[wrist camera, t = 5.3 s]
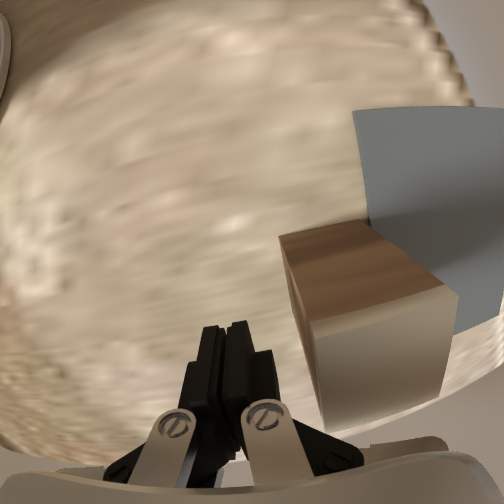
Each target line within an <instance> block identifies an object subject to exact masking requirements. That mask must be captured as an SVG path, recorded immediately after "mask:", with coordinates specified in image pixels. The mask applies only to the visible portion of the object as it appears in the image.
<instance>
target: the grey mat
mask: <svg viewBox="0 0 504 504" xmlns="http://www.w3.org/2000/svg"><path fill="white" fill-rule="evenodd" d="M352 113H353V118H354V123H355V128H356V133H357V139H358V144H359V150H360V156H361V163H362V169H363V176H364V183H365V191H366V199H367V208H368V217H369V227H371V228H372V229H374V230H375V231H376V232H378V233H379V234H380V235H382V236H383V237H385V238H386V239H387V240H389V241H390V242H391V243H393V244H394V245H395V246H397V247H398V248H399V249H401V250H402V251H403V252H405V253H406V254H407V255H409V256H410V257H411V258H413V259H414V260H415V261H416V262H418V263H419V264H420V265H422V266H423V267H424V268H425V269H427V270H428V271H429V272H430V273H432V274H433V275H434V276H435V277H437V278H438V279H439V280H440V281H442V282H443V283H444V284H445V285H446V286H448V287H449V288H450V289H451V290H452V291H454V292H455V293H456V294H457V295H458V296H459V297H458V305H457V312H456V319H455V325H454V331H453V335H456V334H458V333H460V332H463V331H465V330H467V329H470V328H472V327H474V326H476V325H479V324H481V323H483V322H485V321H487V320H489V319H492V318H494V317H496V316H498V315H499V311H500V306H501V301H502V296H503V291H504V109H500V108H485V107H456V106H433V107H402V108H385V109H372V110H361V111H353V112H352Z"/></svg>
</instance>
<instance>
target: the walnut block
mask: <svg viewBox="0 0 504 504" xmlns="http://www.w3.org/2000/svg"><path fill="white" fill-rule="evenodd" d="M278 237H279V242H280V247H281V252H282V257H283V262H284V268H285V273H286V278H287V284H288V289H289V295H290V300H291V306H292V310H293V314H294V318H295V321H296V325H297V328H298V332H299V336H300V339H301V343H302V346H303V350H304V354H305V357H306V361H307V365H308V369H309V372H310V376H311V380H312V384H313V387H314V391H315V395H316V399H317V402H318V406H319V410H320V414H321V418H322V422H323V426H324V430H325V434H329V433H333V432H337V431H341V430H345V429H348V428H352V427H355V426H359V425H362V424H366V423H369V422H372V421H375V420H378V419H381V418H385V417H387V416H390V415H393V414H396V413H399V412H402V411H404V410H407V409H410V408H412V407H415V406H418V405H420V404H423V403H425V402H427V401H430V400H432V399H435V398H437V397H439V393H440V390H441V386H442V382H443V378H444V374H445V370H446V366H447V361H448V357H449V352H450V347H451V342H452V337H453V331H454V325H455V319H456V312H457V305H458V297H459V296H458V295H457V294H456V293H455V292H454V291H452V290H451V289H450V288H449V287H448V286H446V285H445V284H444V283H443V282H442V281H440V280H439V279H438V278H437V277H435V276H434V275H433V274H432V273H430V272H429V271H428V270H427V269H425V268H424V267H423V266H422V265H420V264H419V263H418V262H416V261H415V260H414V259H413V258H411V257H410V256H409V255H407V254H406V253H405V252H403V251H402V250H401V249H399V248H398V247H397V246H395V245H394V244H393V243H391V242H390V241H389V240H387V239H386V238H385V237H383V236H382V235H380V234H379V233H378V232H376V231H375V230H374V229H372V228H371V227H369V226H368V225H366V224H365V223H364V222H362V221H361V220H354V221H349V222H344V223H339V224H334V225H329V226H325V227H320V228H315V229H310V230H305V231H301V232H296V233H291V234H286V235H282V236H278Z"/></svg>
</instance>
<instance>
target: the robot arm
mask: <svg viewBox="0 0 504 504" xmlns="http://www.w3.org/2000/svg"><path fill="white" fill-rule="evenodd" d="M10 53H11V33H10V28H9V24H8V21H7V19H6V18H5V17H4V15H3V14H2V13H0V99H1V96H2V93H3V90H4V86H5V82H6V78H7V74H8V67H9V62H10ZM241 447H242V450H243V452H244V454H245V456H246V458H247V460H248V461H249V462H250V467H251V471H252V476H253V481H254V485H255V486H245V487H229V488H220V486H221V483H222V478H223V474H224V468H223V466H224V465H225V464H226V463H228V462H229V460H235V456H236V452H238V451H240V449H241ZM0 504H504V497H503V495H502V493H501V491H500V490H499V488H498V486H497V485H496V483H495V481H494V480H493V478H492V477H491V475H490V474H489V473H488V471H487V470H486V469H485V468H484V466H483V465H482V464H481V463H480V462H479V461H478V460H477V459H475V458H474V457H472V456H471V455H469V454H466V453H462V452H454V451H449V450H448V446H447V444H446V443H445V441H443V440H442V439H441V438H438V437H435V436H427V437H421V438H415V439H410V440H404V441H397V442H390V443H382V444H373V445H370V448H360V449H358V448H357V447H355V446H353V445H351V444H349V443H346V442H344V441H341V440H339V439H337V438H334V437H332V436H330V435H327V434H325V433H323V432H320V431H318V430H316V429H314V428H312V427H309V426H307V425H305V424H303V423H301V422H299V421H297V420H295V419H292V418H291V415H290V412H289V410H288V408H287V406H286V405H285V404H284V403H282V402H281V399H280V392H279V384H278V378H277V372H276V367H275V362H274V358H273V353H272V350H266V351H260V352H255V350H254V346H253V342H252V338H251V334H250V331H249V327H248V323H247V321H246V320H244V321H239V322H233V323H232V326H231V327H227V336H226V332H225V329H224V328H219V326H218V325H215V326H209V327H204V328H203V331H202V336H201V341H200V346H199V351H198V356H197V361H193V362H189V363H188V365H187V369H186V373H185V378H184V382H183V386H182V391H181V395H180V400H179V404H178V409H173V410H169V411H167V412H165V413H163V414H162V415H161V416H160V417H158V419H157V420H156V422H155V423H154V425H153V428H152V430H151V432H150V434H149V436H148V439H147V441H146V442H145V443H144V444H142V445H141V446H139V447H138V448H136V449H135V450H133V451H132V452H130V453H128V454H127V455H125V456H124V457H122V458H121V459H119V460H117V461H116V462H114V463H113V464H111V465H110V466H109V467H108V468H107V469H106V468H105V467H104V466H100V467H85V468H64V469H59V470H58V471H56V472H48V471H27V472H20V473H16V474H13V475H12V476H10V477H8V478H7V479H6V480H5V482H4V483H3V485H2V486H1V488H0Z"/></svg>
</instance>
